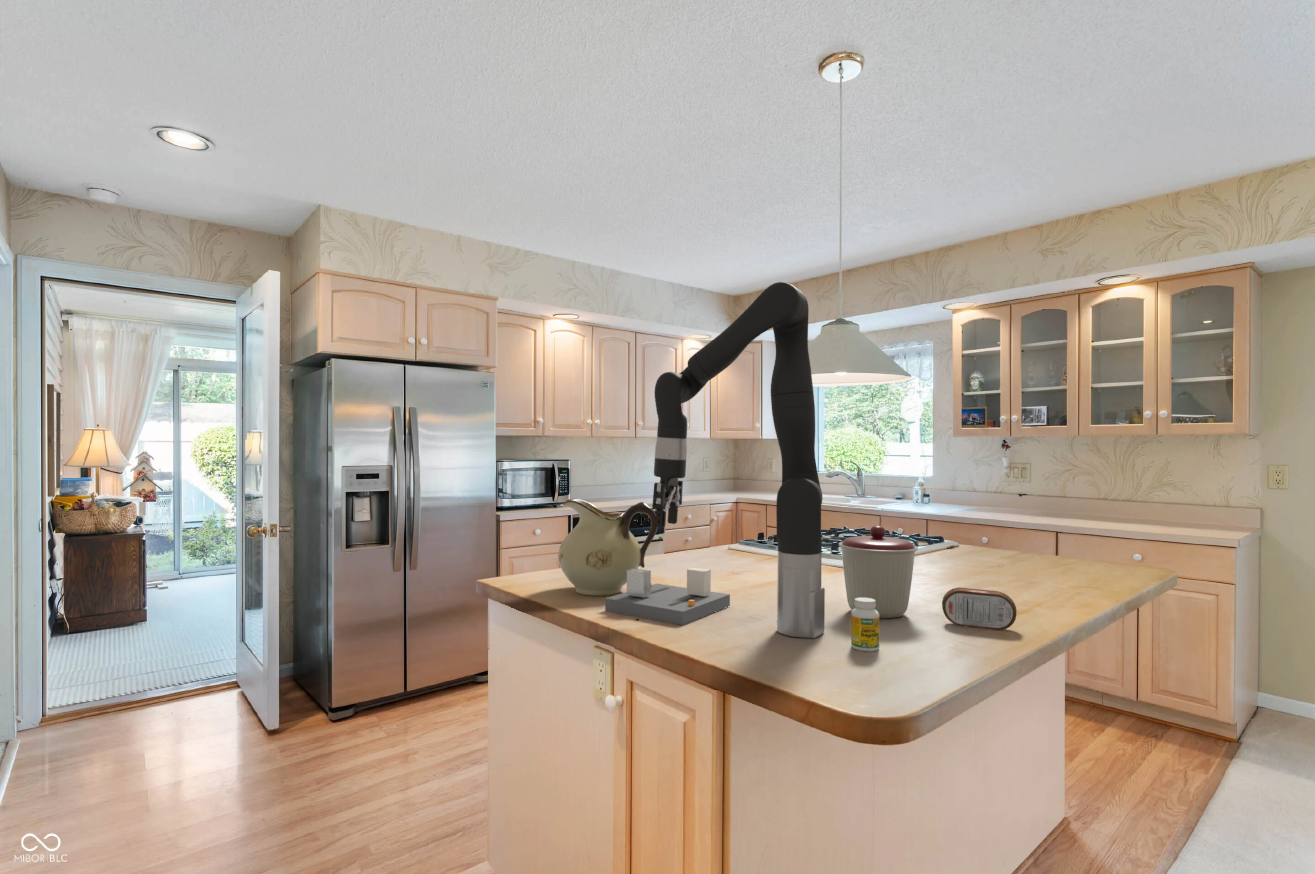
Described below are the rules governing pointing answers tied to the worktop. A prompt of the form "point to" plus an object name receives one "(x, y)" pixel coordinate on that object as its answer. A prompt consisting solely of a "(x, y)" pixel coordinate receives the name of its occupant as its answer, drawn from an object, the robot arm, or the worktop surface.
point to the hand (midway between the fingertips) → (666, 525)
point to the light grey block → (639, 582)
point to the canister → (879, 571)
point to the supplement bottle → (865, 625)
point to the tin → (979, 608)
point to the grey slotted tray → (668, 604)
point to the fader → (698, 581)
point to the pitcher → (602, 548)
